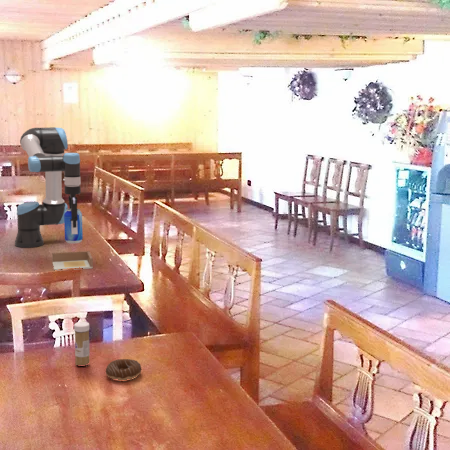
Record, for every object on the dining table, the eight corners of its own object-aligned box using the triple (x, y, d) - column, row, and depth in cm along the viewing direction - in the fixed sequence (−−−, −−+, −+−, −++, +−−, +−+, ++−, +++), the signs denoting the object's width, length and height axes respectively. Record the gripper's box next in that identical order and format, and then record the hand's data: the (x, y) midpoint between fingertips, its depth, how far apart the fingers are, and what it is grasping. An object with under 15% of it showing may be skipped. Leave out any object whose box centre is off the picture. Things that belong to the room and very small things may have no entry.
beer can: (62, 243, 310) (60, 210, 307) (69, 239, 318) (68, 207, 315) (78, 244, 308) (77, 211, 305) (85, 240, 316) (84, 208, 314)
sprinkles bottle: (72, 364, 200) (71, 323, 198) (84, 360, 204) (83, 320, 201) (81, 369, 197) (80, 327, 195) (93, 364, 201) (92, 323, 198)
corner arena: (52, 262, 320) (52, 253, 319) (89, 260, 326) (89, 251, 325) (54, 270, 306) (53, 260, 305) (92, 268, 312) (92, 258, 311)
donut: (144, 369, 199) (144, 357, 198) (137, 384, 188) (137, 371, 187) (110, 368, 199) (110, 355, 198) (101, 382, 189) (101, 370, 188)
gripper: (62, 183, 317) (64, 228, 321) (66, 188, 297) (67, 236, 301) (78, 182, 319) (79, 227, 323) (82, 188, 299) (83, 236, 304)
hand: (73, 232), depth 312 cm, fingers closed on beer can, 8 cm apart
